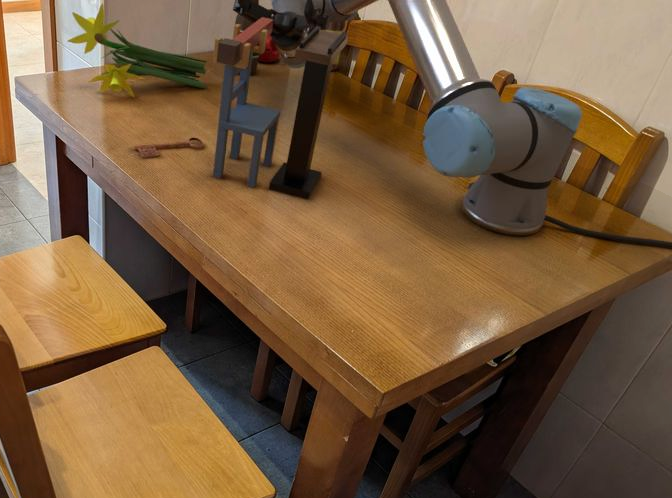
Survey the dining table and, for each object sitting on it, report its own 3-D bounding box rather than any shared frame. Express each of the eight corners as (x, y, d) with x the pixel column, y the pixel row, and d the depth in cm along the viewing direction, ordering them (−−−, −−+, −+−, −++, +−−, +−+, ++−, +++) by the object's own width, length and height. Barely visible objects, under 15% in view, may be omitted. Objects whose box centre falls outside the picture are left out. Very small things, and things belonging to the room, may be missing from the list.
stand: (285, 165, 134) (311, 23, 116) (322, 174, 132) (355, 31, 114) (265, 193, 124) (290, 42, 106) (305, 204, 122) (338, 52, 104)
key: (139, 159, 130) (208, 153, 135) (139, 155, 129) (209, 149, 134) (131, 145, 134) (198, 139, 139) (131, 141, 133) (199, 135, 138)
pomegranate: (241, 60, 182) (246, 25, 176) (250, 51, 189) (255, 16, 183) (275, 67, 180) (281, 31, 174) (283, 57, 188) (288, 23, 182)
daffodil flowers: (218, 103, 158) (86, 75, 138) (185, 115, 170) (59, 91, 150) (219, 31, 156) (85, -8, 136) (186, 48, 168) (58, 15, 148)
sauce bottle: (341, 70, 184) (358, -7, 171) (325, 72, 181) (341, -6, 168) (326, 63, 188) (341, -14, 175) (309, 65, 185) (324, -13, 172)
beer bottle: (251, 65, 180) (264, -33, 164) (261, 75, 174) (275, -25, 158) (224, 66, 177) (235, -34, 162) (234, 76, 172) (246, -26, 156)
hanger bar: (258, 29, 128) (260, 12, 126) (273, 33, 128) (276, 15, 126) (216, 62, 111) (218, 42, 109) (233, 66, 110) (236, 46, 108)
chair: (222, 151, 136) (237, 23, 119) (271, 164, 134) (293, 35, 117) (201, 174, 127) (214, 39, 111) (254, 188, 125) (275, 52, 108)
